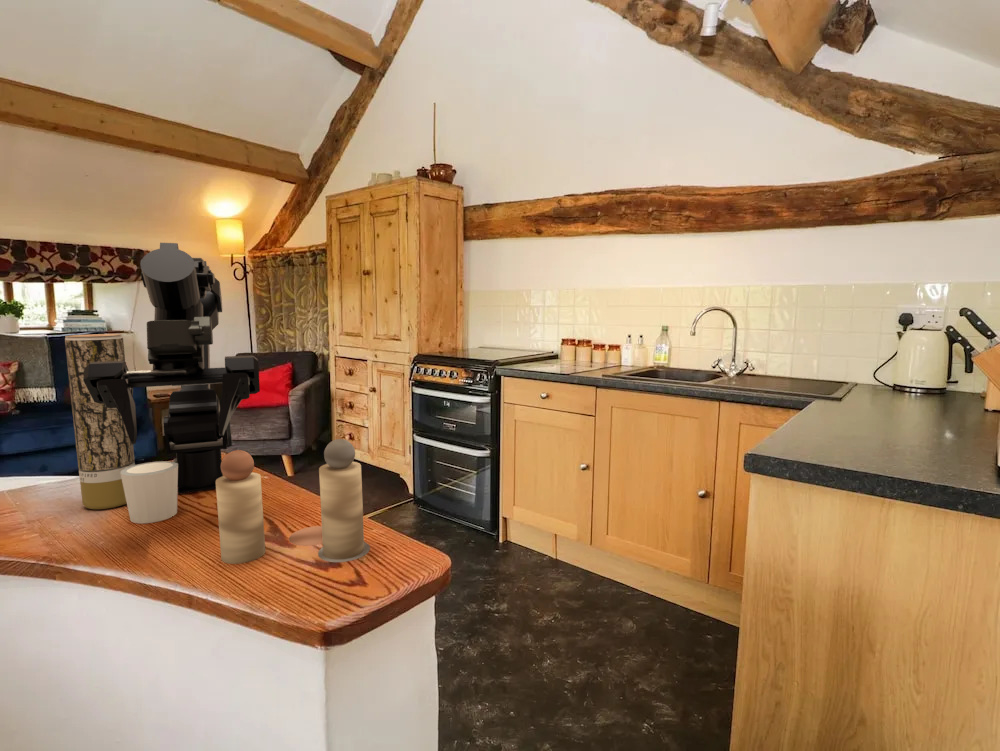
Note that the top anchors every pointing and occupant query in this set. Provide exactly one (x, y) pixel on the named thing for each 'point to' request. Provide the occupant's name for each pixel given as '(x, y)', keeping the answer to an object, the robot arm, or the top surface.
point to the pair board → (318, 542)
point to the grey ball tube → (341, 502)
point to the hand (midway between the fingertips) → (178, 438)
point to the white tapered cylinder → (151, 491)
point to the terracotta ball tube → (240, 509)
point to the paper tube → (97, 424)
